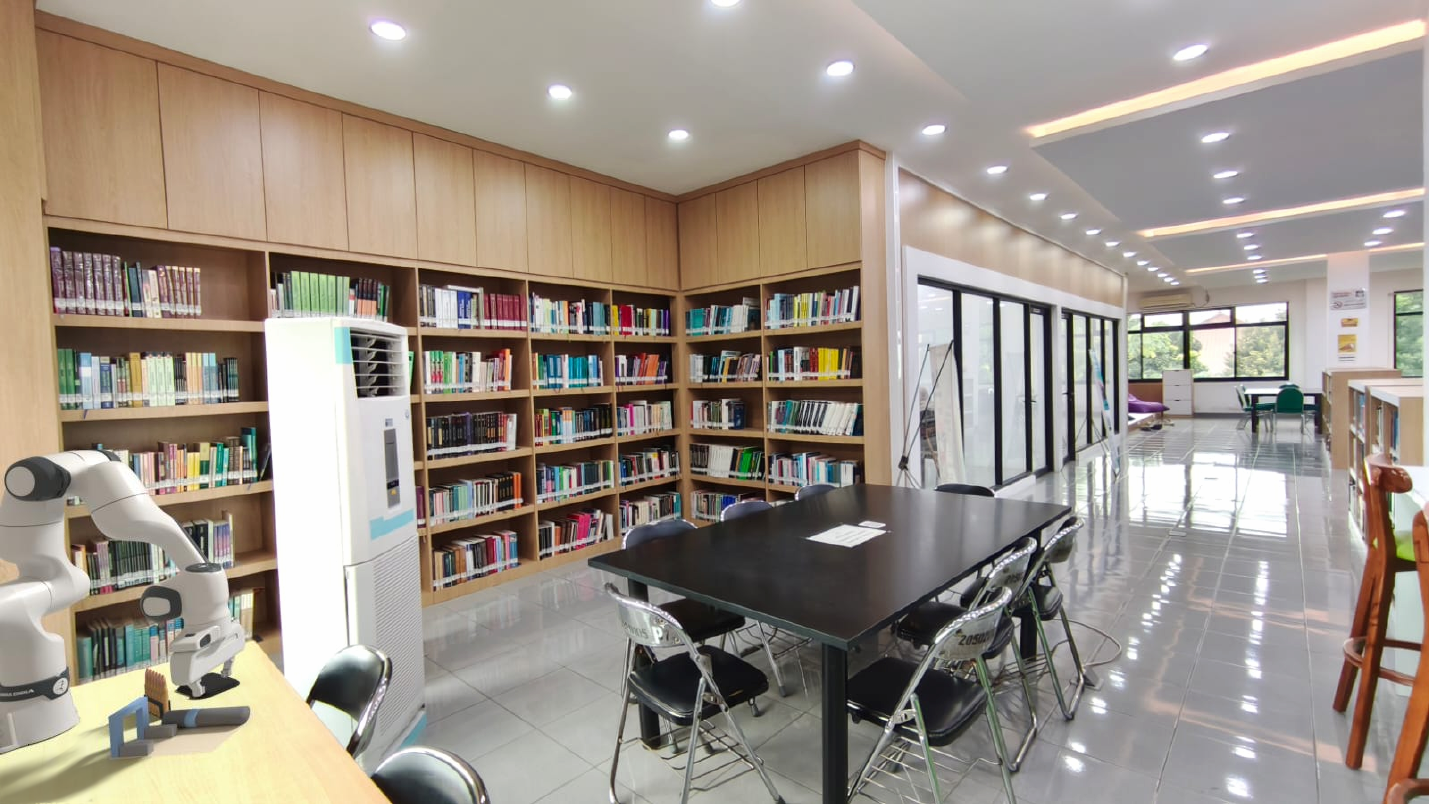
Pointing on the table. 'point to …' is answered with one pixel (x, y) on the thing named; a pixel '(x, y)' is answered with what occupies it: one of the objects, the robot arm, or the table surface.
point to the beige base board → (179, 740)
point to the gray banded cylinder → (207, 716)
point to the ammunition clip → (156, 693)
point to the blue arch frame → (117, 723)
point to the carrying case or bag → (211, 686)
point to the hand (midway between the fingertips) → (213, 685)
